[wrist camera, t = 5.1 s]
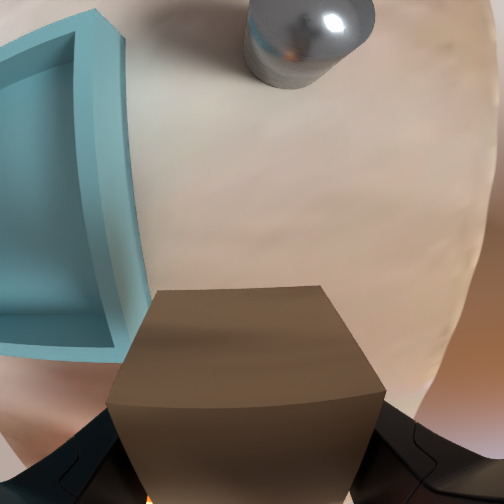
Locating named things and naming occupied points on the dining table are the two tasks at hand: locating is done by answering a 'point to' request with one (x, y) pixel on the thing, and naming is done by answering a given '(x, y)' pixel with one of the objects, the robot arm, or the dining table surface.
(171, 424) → the walnut cube
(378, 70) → the dining table surface
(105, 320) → the tote
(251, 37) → the steel cylinder
